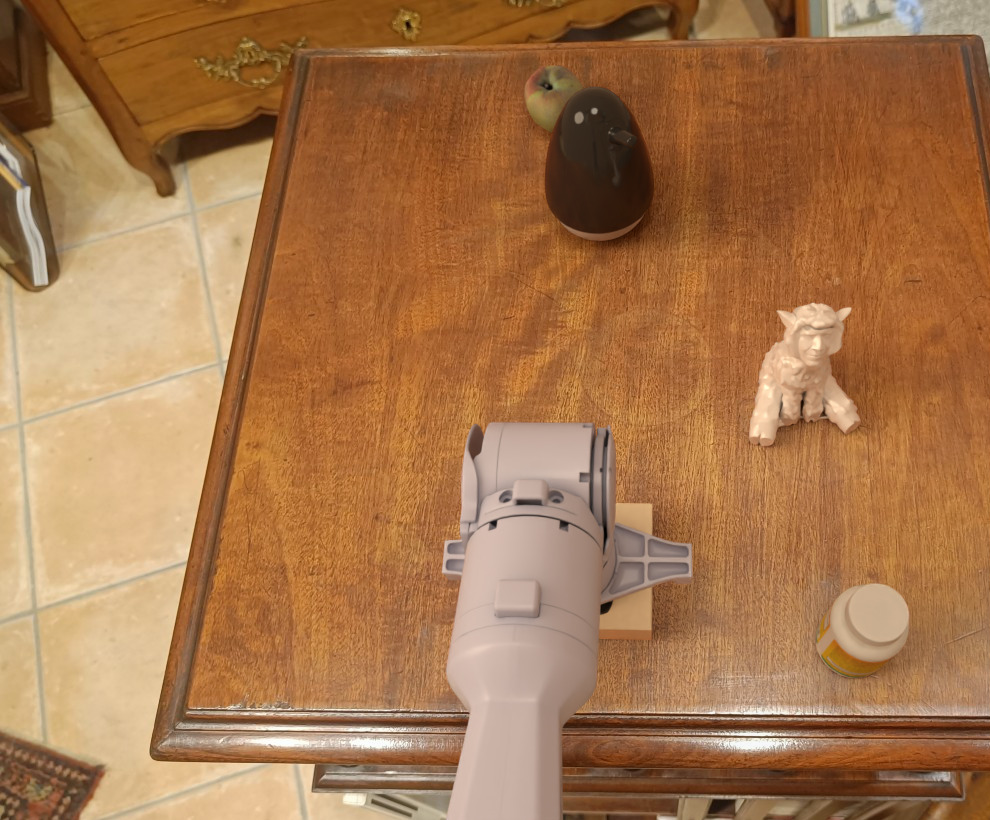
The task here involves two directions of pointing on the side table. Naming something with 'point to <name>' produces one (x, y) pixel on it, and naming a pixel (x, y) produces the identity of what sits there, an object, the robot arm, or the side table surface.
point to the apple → (549, 93)
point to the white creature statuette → (802, 375)
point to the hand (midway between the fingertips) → (578, 590)
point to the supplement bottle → (863, 630)
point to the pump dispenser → (598, 167)
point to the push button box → (634, 610)
